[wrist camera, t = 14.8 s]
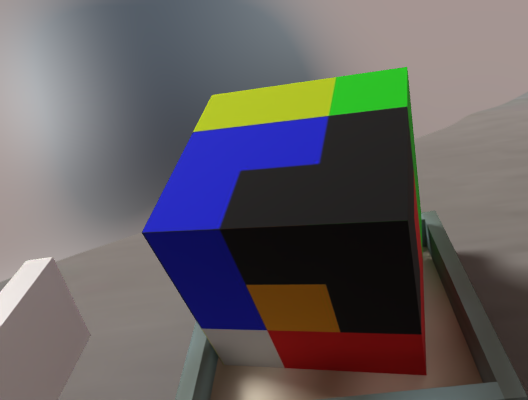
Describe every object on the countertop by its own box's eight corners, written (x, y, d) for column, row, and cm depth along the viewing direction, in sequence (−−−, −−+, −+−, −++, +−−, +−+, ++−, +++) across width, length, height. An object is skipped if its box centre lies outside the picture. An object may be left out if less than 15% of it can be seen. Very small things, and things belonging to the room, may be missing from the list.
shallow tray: (187, 475, 22) (166, 430, 20) (227, 280, 34) (216, 243, 33) (525, 449, 20) (527, 396, 18) (437, 250, 32) (435, 210, 31)
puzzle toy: (223, 364, 26) (141, 232, 19) (262, 225, 33) (211, 95, 26) (426, 375, 22) (407, 220, 16) (421, 218, 29) (407, 66, 23)
